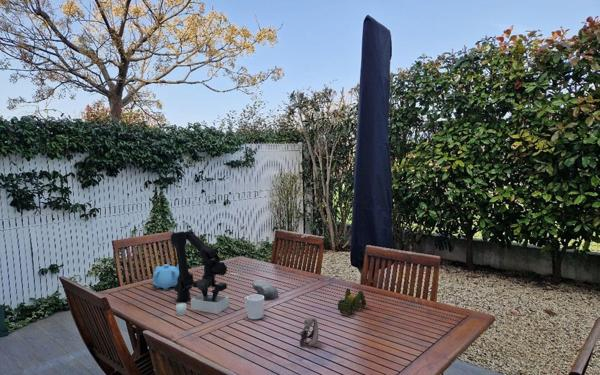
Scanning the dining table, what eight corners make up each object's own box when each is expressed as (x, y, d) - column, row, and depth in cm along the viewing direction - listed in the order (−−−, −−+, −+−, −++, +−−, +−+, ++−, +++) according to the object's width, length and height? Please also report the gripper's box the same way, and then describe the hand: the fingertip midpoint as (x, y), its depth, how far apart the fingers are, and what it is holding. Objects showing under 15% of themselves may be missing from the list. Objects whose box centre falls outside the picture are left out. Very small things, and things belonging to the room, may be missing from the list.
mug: (267, 314, 197) (267, 295, 196) (259, 321, 189) (259, 301, 188) (248, 312, 201) (247, 293, 200) (240, 318, 192) (239, 298, 192)
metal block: (203, 306, 205) (203, 297, 205) (208, 303, 210) (208, 294, 210) (211, 307, 204) (210, 298, 203) (216, 304, 208) (216, 295, 208)
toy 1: (296, 339, 168) (305, 309, 168) (313, 343, 169) (322, 314, 169) (297, 348, 160) (307, 316, 159) (315, 352, 161) (325, 321, 160)
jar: (174, 314, 197) (174, 305, 197) (180, 311, 202) (180, 302, 202) (182, 316, 196) (181, 306, 195) (188, 312, 200) (188, 303, 200)
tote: (190, 309, 205) (190, 299, 205) (203, 302, 215) (203, 292, 215) (217, 313, 198) (217, 303, 198) (229, 306, 209) (228, 296, 208)
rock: (270, 305, 217) (268, 289, 214) (249, 297, 227) (247, 282, 224) (282, 296, 225) (280, 280, 222) (262, 288, 235) (260, 274, 232)
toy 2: (370, 304, 212) (370, 286, 212) (351, 319, 192) (351, 299, 191) (353, 300, 218) (353, 283, 217) (332, 314, 197) (333, 296, 197)
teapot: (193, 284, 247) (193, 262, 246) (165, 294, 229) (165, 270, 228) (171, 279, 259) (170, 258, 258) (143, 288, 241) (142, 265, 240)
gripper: (185, 274, 202) (186, 303, 203) (215, 278, 195) (215, 308, 196) (198, 269, 212) (199, 296, 213) (227, 272, 205) (227, 301, 206)
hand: (209, 300), depth 207 cm, fingers closed on metal block, 5 cm apart
